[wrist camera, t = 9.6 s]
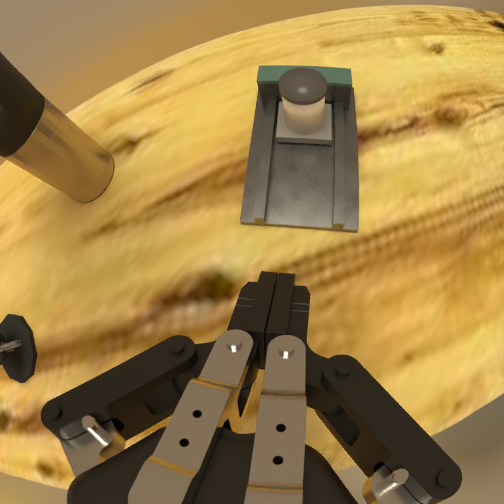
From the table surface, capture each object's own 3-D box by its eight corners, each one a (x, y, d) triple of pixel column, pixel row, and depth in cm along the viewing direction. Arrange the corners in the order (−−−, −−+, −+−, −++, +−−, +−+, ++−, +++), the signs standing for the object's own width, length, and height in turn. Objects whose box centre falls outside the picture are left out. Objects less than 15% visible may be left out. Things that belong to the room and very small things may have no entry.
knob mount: (241, 224, 38) (228, 205, 31) (260, 87, 42) (253, 58, 36) (356, 232, 35) (366, 214, 29) (352, 91, 39) (357, 61, 33)
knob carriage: (276, 142, 38) (268, 101, 30) (280, 107, 39) (273, 65, 31) (331, 145, 37) (335, 104, 29) (330, 109, 38) (333, 67, 30)
